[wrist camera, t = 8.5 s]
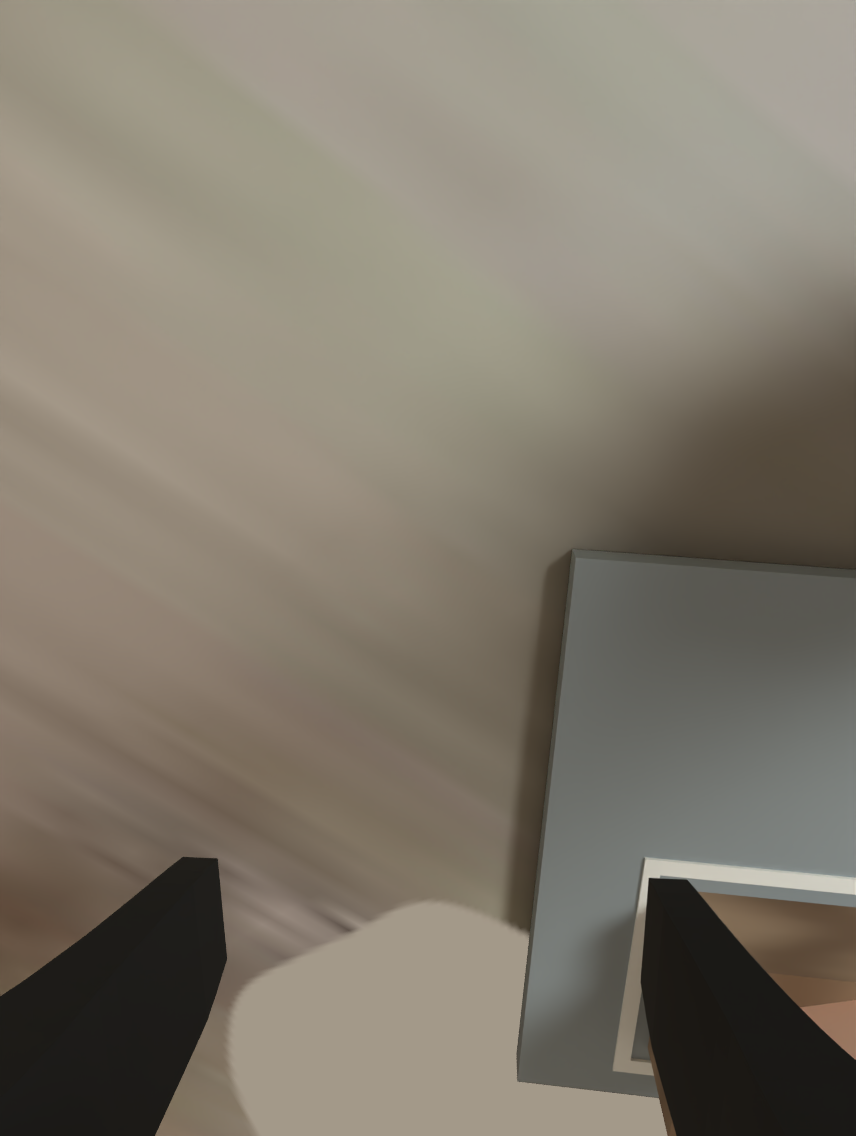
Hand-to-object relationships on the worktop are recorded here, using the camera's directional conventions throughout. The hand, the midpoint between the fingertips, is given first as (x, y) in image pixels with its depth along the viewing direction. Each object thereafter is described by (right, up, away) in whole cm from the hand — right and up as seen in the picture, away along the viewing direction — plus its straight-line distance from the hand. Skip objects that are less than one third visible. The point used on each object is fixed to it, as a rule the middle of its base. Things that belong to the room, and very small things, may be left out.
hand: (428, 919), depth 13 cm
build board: (+9, -3, +11) cm, 15 cm away
